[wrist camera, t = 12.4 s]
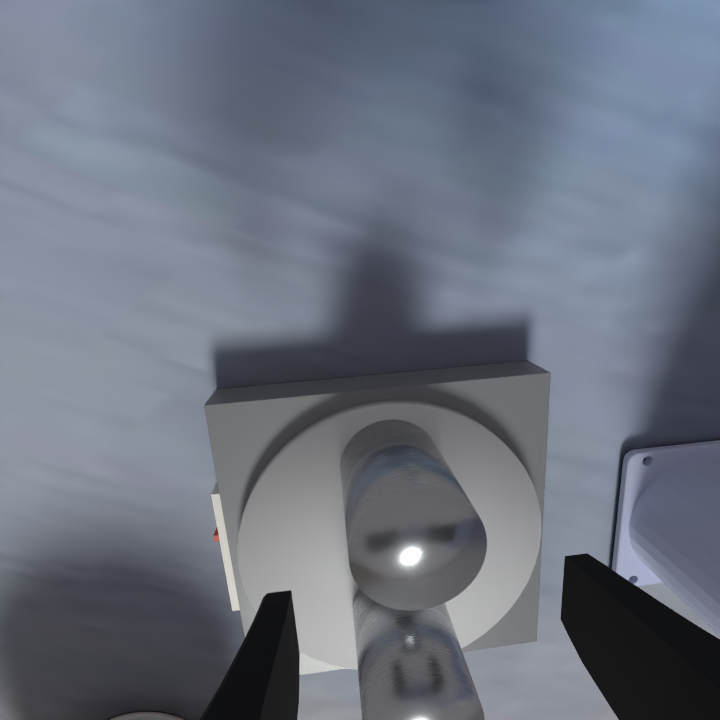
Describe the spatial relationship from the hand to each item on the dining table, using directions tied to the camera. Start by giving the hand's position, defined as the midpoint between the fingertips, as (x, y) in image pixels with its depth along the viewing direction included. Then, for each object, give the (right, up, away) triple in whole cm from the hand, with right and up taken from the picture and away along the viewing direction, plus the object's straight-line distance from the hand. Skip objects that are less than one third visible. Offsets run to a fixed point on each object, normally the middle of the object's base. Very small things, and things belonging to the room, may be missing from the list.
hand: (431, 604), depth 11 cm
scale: (-1, -1, +10) cm, 10 cm away
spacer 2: (0, -4, +8) cm, 9 cm away
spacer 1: (-1, +2, +6) cm, 6 cm away
